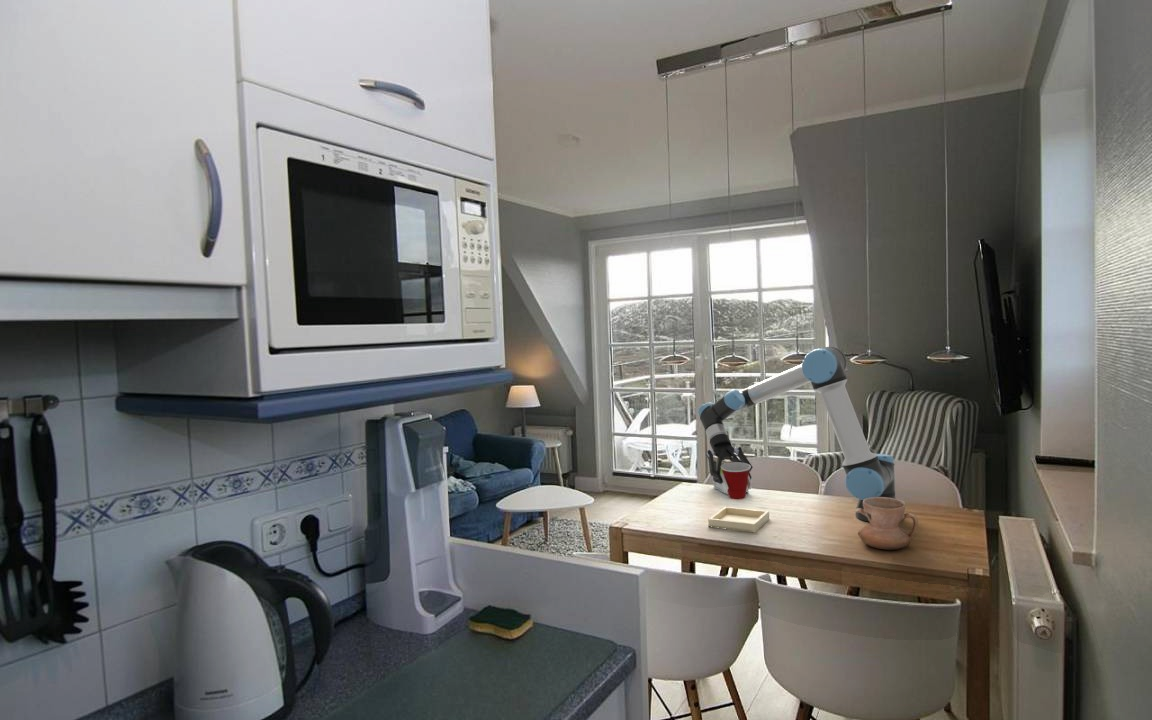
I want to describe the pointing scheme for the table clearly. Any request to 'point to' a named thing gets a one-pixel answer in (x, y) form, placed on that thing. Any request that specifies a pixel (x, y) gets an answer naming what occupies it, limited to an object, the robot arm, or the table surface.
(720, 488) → the tea box
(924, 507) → the table surface
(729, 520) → the tray
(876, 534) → the ceramic jug
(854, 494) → the robot arm
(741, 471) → the plastic cup
